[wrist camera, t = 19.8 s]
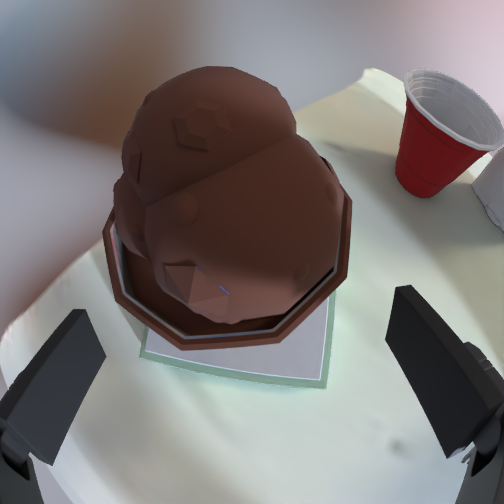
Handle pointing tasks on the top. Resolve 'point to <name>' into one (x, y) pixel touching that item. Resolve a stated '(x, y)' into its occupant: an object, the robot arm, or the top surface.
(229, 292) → the ice cream bowl
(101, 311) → the top surface
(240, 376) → the scale
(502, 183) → the tall pale column
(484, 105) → the plastic cup
